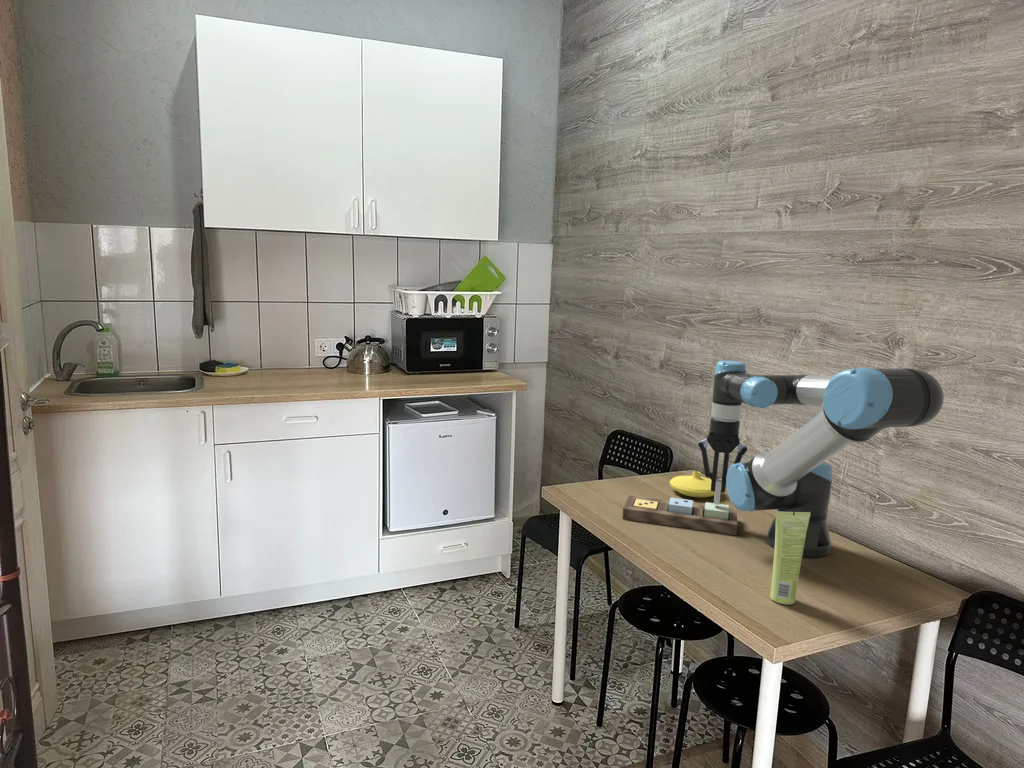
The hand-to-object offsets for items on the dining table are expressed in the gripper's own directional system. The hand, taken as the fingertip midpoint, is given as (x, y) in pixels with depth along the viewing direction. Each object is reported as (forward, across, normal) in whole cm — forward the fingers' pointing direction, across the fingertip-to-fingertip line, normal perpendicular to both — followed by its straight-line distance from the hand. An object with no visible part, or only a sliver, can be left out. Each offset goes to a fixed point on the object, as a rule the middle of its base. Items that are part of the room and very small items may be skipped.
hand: (716, 502), depth 187 cm
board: (+6, +9, 0) cm, 11 cm away
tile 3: (+6, +19, 0) cm, 20 cm away
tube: (+6, -15, +41) cm, 44 cm away
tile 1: (+4, 0, 0) cm, 4 cm away
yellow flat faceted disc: (+7, +6, -26) cm, 27 cm away
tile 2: (+4, +9, 0) cm, 10 cm away
